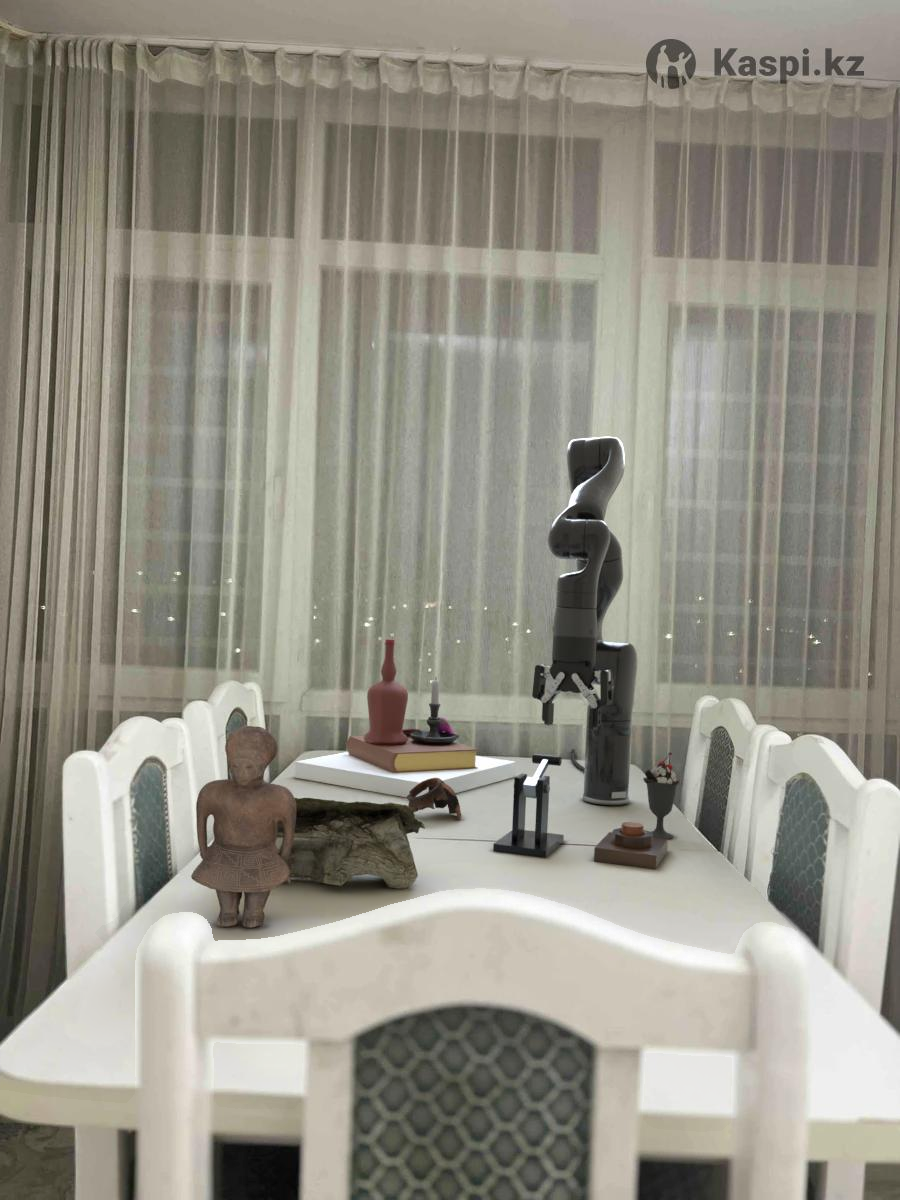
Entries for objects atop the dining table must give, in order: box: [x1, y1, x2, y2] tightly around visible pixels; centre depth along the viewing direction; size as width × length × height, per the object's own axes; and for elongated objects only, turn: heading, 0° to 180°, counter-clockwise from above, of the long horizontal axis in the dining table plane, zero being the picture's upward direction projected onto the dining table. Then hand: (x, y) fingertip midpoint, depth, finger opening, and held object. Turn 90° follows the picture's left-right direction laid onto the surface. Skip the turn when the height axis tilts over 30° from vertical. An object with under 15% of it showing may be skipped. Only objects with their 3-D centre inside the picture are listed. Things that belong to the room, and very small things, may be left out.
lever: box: [523, 753, 563, 799], centre depth 182 cm, size 12×5×2 cm, turn 160°
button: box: [621, 821, 645, 836], centre depth 174 cm, size 4×4×2 cm
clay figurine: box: [190, 725, 296, 928], centre depth 133 cm, size 13×10×25 cm
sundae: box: [642, 752, 682, 840], centre depth 189 cm, size 7×7×15 cm
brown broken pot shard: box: [406, 778, 462, 821], centre depth 198 cm, size 12×10×8 cm
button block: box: [593, 827, 669, 870], centre depth 174 cm, size 12×10×4 cm
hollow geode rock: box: [276, 797, 426, 889], centre depth 151 cm, size 28×13×15 cm
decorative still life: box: [294, 638, 517, 798], centre depth 237 cm, size 35×40×31 cm
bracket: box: [492, 773, 565, 859], centre depth 178 cm, size 12×9×12 cm
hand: (570, 727), depth 182 cm, fingers open, 8 cm apart
